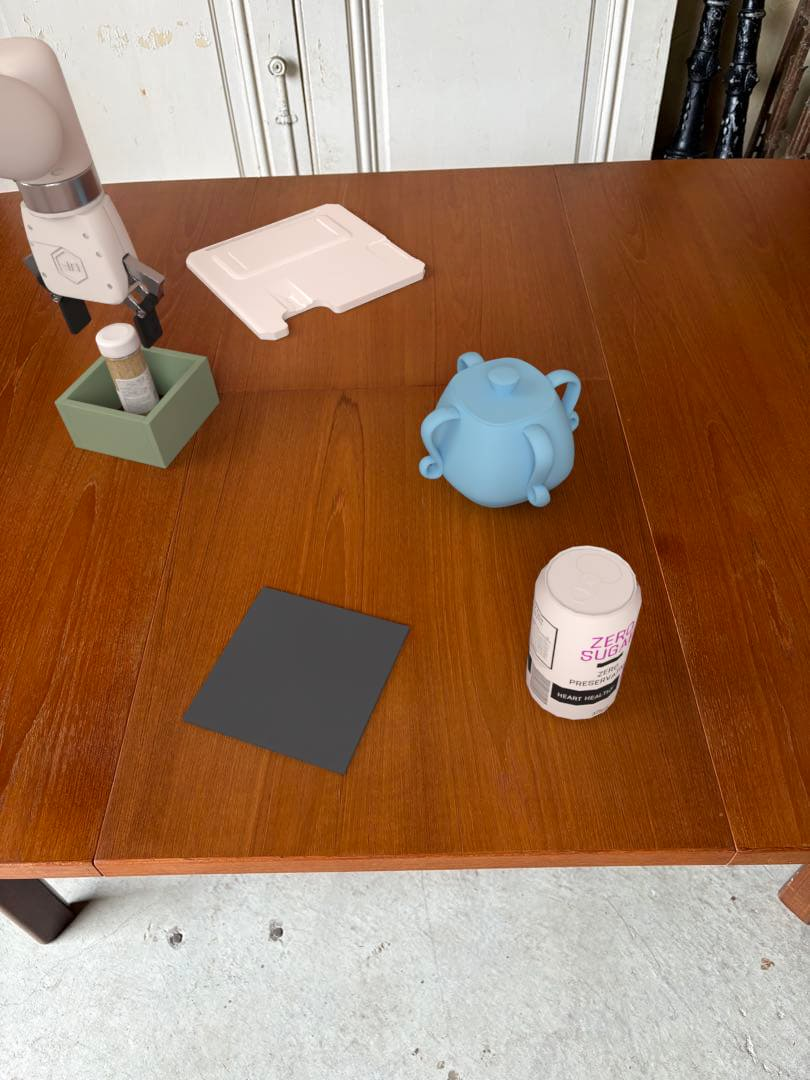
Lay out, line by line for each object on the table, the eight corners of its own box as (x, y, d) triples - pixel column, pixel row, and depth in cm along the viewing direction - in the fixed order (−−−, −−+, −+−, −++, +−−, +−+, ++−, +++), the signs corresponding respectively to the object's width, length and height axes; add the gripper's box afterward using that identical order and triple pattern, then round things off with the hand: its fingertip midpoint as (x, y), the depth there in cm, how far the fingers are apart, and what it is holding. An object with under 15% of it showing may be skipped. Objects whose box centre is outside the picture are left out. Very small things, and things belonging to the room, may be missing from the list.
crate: (75, 447, 100) (54, 402, 94) (134, 384, 108) (117, 339, 102) (166, 469, 96) (148, 423, 91) (220, 402, 104) (207, 356, 99)
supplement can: (552, 632, 78) (567, 525, 66) (632, 673, 74) (662, 568, 63) (508, 693, 73) (516, 591, 62) (591, 740, 70) (615, 640, 59)
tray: (431, 275, 121) (430, 266, 120) (265, 344, 112) (263, 334, 111) (335, 207, 137) (334, 198, 136) (183, 263, 128) (180, 254, 127)
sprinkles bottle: (135, 413, 103) (100, 321, 93) (170, 411, 103) (139, 320, 93) (127, 437, 100) (89, 345, 90) (163, 435, 100) (130, 343, 90)
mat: (182, 720, 73) (181, 718, 73) (263, 588, 83) (263, 586, 83) (344, 775, 69) (344, 773, 69) (410, 629, 79) (409, 626, 79)
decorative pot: (402, 493, 91) (394, 397, 81) (465, 409, 100) (465, 313, 90) (538, 541, 86) (548, 444, 75) (591, 447, 95) (607, 349, 84)
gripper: (-35, 194, 80) (35, 341, 92) (112, 215, 75) (165, 367, 88) (14, 160, 84) (74, 305, 97) (156, 178, 79) (200, 327, 92)
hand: (117, 334), depth 92 cm, fingers open, 9 cm apart
